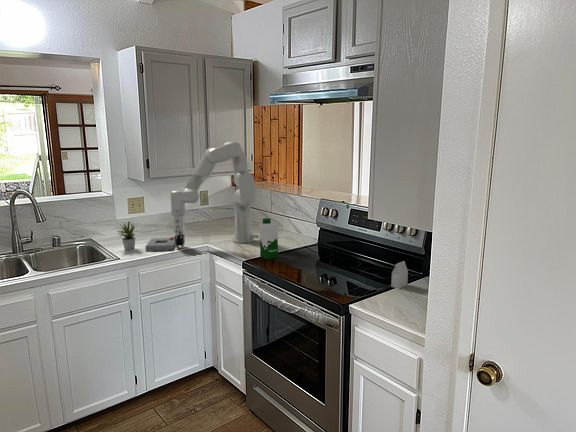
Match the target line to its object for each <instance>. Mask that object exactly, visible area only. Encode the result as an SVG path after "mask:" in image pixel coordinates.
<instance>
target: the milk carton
mask: <svg viewBox="0 0 576 432" xmlns="http://www.w3.org/2000/svg"><path fill="white" fill-rule="evenodd" d="M258 225H259V240H260V241H259V242H260V243H259V245H260V246H259V247H260V248H259V250H260V251H259V254H260V255H259V257H260V258H262V257H263V259H265V260H267V259H268V260H273V259H277V257H278V258H279V242H278V241H279V225H280V223H277V222H274V221H271V218H268V217H266V218H262V222H258ZM272 258H273V259H272Z"/></svg>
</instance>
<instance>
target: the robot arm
mask: <svg viewBox="0 0 576 432" xmlns="http://www.w3.org/2000/svg"><path fill="white" fill-rule="evenodd" d="M229 160H231V163H232V168H233V170H232V171H233V183H234V184H235V185H236V187H237V186H238V189H236V190H235V192H234V193H233V199H232V200H233V206H234V225H235V226H234V232H235V237H234V238H233V239H232V241H233V242H234V243H235V244H236V243H237V244H247V243H253V241H254V240H255V239H260V234H257V233H254V234H253V233H252V210H251V207H252V206H253V205H254V204H255V202H256V198H257V195H256V181H255V177H254V176H253V174H252V173H251V172H249V168H248V167H249V166H248V160H247V156H246V154H245V153H244V151H243V146H242V145H241V144H240V143H239V142H237V141H226V142H224V144H223V145H222V146H218V147H210V148H207V149H206V150H205V152H204V154H203V156H202V158H201V159H200V162H199V164H198V165H197V168H196V169H195V171H194V172H193V173H192V175H191V177H190V178H189V179H188V181H187V183H186V184H185V187H184V189H183V190H172V191H170V207H171V208H170V211H171V216H173V228H174V229H173V230H174V234H176V246H177V245H179V246H181V245H182V236H181V234H185V231H186V223H185V216H186V204H196V203H197V202H199V200H200V194H199V192H198V191H199V189H200V187H201V186H202V185H203V184H204V183H205V182H206V181H207V180H209V179H210V177H211V176H212V174H213V171H214V170H215V167H216V166H217V164H221V163H223V162H227V161H229Z"/></svg>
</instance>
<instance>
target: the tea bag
mask: <svg viewBox="0 0 576 432" xmlns="http://www.w3.org/2000/svg"><path fill="white" fill-rule="evenodd" d="M408 275H409V271H408V268H407V265H406V261H404V260H402V261H401V262H398V263H396V264H395V266H394V268H393V270H392V272H391V280H390V281H391V283H390V287H391V288H394V289H401V288H404V287H406V286H407V285H408V279H409V276H408Z"/></svg>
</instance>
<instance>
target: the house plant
mask: <svg viewBox="0 0 576 432" xmlns="http://www.w3.org/2000/svg"><path fill="white" fill-rule="evenodd" d="M116 224H118V225H120V226H121V227H119V226H115V227H116V228H118V229H120V230H117V231H116V232H117V233H118V234H119V236H120V237H122V236H123V238H121V240H122V244H123V247H124V248H123V249H124V251H134V250H135V246H136V237H134V236H136V234H135V233H136V232H137V230H136V231H135V229H136V228H137V226H136V225H135V224H134V223H131V221H130V220H129V221H128V222H127V224H125V223H123V225H122V224H121V223H116ZM130 224H131V225H130Z"/></svg>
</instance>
